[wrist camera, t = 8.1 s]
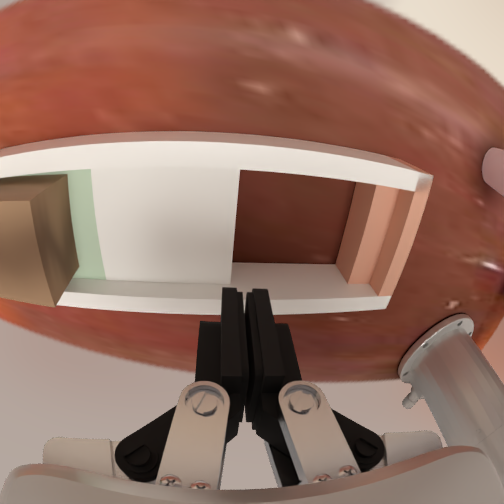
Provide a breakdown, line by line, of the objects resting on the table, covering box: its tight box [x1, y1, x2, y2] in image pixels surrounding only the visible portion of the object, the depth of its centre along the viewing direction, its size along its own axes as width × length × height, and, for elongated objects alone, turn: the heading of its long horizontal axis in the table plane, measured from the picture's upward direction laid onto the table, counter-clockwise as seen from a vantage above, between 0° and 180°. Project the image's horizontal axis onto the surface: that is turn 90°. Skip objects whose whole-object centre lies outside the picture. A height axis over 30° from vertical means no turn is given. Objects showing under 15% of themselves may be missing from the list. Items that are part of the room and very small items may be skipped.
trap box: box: [0, 131, 433, 315], centre depth 16 cm, size 10×28×4 cm, turn 84°
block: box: [0, 174, 79, 307], centre depth 12 cm, size 6×6×4 cm
